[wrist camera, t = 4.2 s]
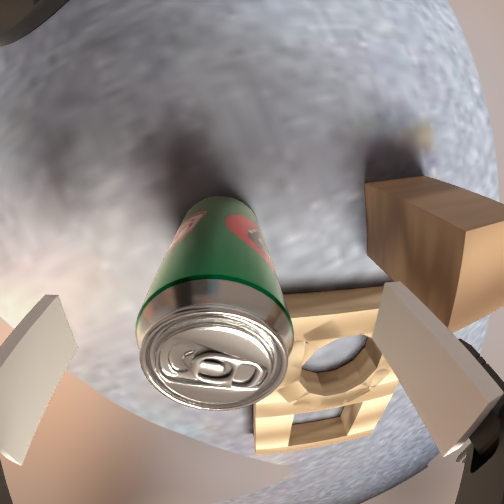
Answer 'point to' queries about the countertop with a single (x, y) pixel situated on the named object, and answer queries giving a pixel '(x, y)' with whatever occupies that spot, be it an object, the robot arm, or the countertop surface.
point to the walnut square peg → (439, 245)
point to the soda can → (215, 313)
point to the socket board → (326, 375)
